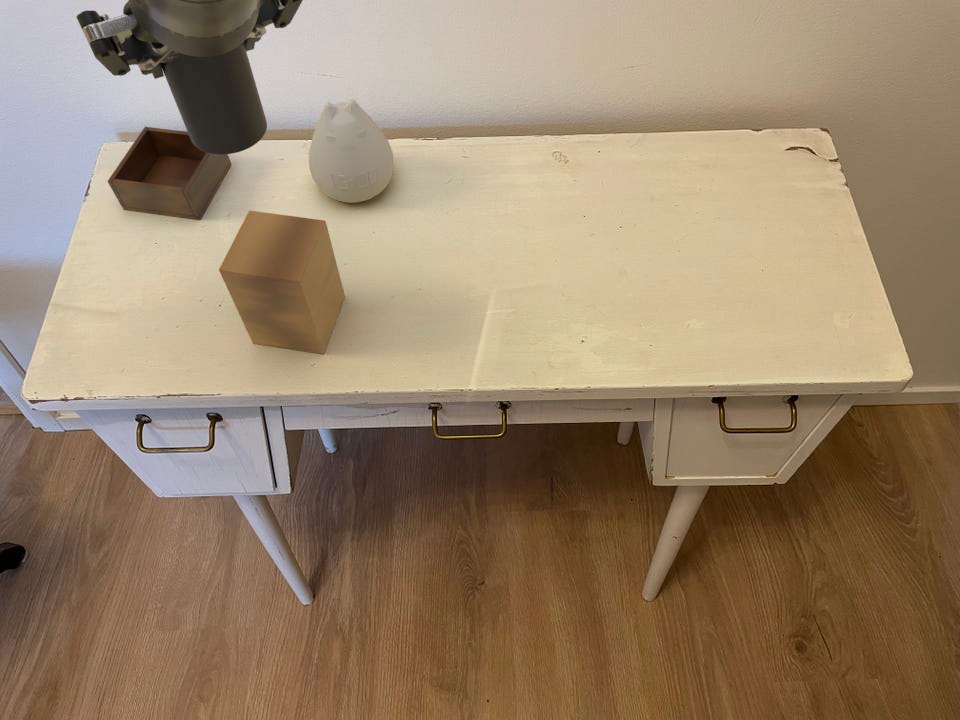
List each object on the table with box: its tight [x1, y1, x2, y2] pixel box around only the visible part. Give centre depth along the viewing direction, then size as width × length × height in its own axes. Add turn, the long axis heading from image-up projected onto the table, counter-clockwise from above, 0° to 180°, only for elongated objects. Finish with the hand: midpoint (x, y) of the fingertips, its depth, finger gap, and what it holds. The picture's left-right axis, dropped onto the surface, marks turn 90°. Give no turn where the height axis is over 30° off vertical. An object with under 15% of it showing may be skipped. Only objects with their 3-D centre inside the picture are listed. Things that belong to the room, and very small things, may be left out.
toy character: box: [308, 98, 395, 204], centre depth 87 cm, size 10×10×12 cm
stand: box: [218, 210, 346, 355], centre depth 75 cm, size 8×8×12 cm
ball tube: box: [160, 42, 268, 155], centre depth 55 cm, size 6×6×10 cm
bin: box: [107, 126, 232, 221], centre depth 90 cm, size 10×10×5 cm
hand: (198, 50), depth 55 cm, fingers closed on ball tube, 6 cm apart
